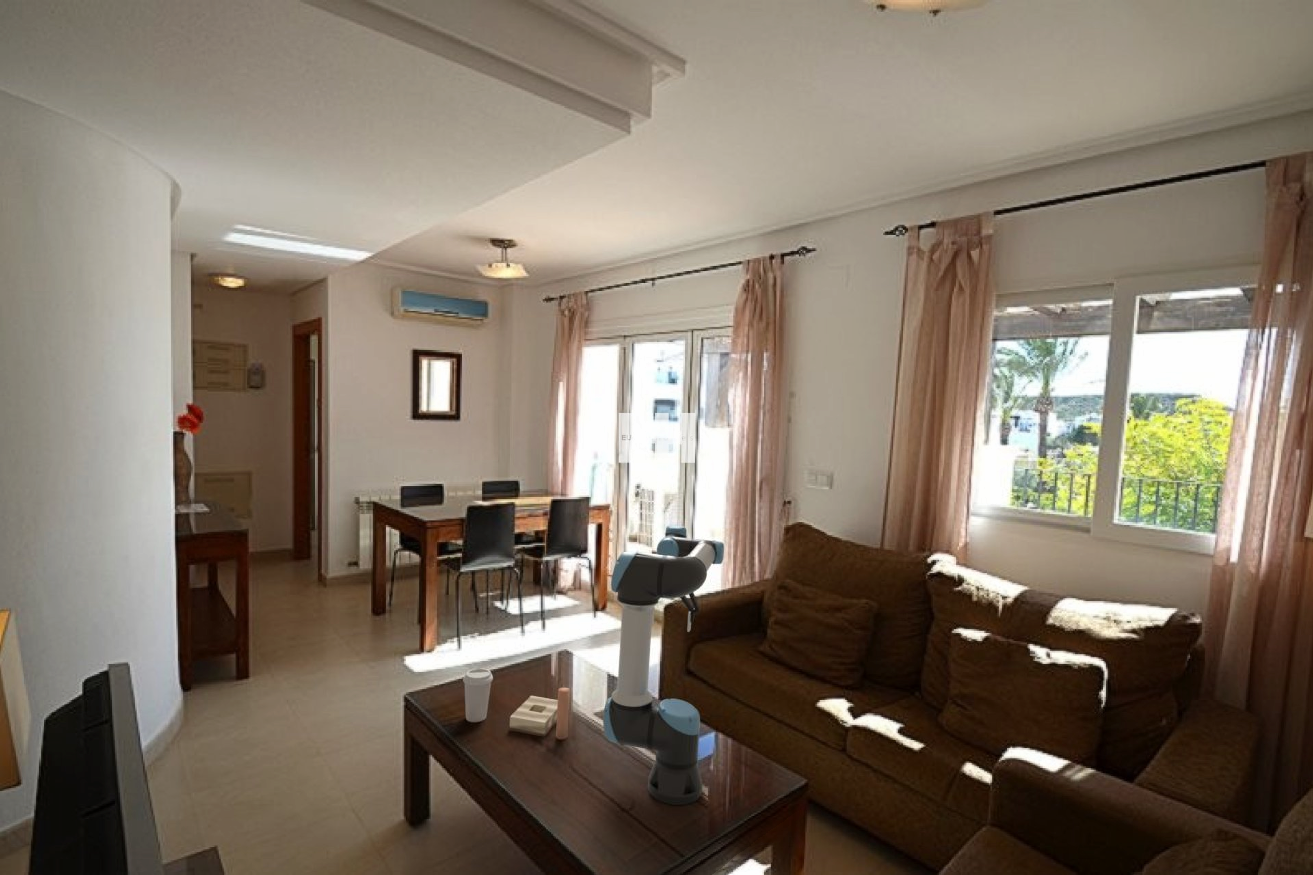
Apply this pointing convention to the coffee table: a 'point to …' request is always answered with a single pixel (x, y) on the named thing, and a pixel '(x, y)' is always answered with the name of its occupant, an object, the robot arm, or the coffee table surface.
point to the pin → (562, 713)
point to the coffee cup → (477, 693)
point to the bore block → (535, 716)
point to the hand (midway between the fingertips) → (670, 628)
